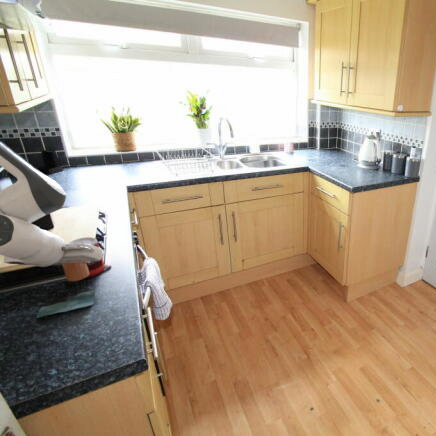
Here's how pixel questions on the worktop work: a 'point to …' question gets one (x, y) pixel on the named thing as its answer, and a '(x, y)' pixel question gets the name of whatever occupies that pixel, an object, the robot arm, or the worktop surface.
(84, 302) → the terrain model
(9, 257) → the robot arm
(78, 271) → the terracotta pot
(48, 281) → the worktop surface
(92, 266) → the canned food
